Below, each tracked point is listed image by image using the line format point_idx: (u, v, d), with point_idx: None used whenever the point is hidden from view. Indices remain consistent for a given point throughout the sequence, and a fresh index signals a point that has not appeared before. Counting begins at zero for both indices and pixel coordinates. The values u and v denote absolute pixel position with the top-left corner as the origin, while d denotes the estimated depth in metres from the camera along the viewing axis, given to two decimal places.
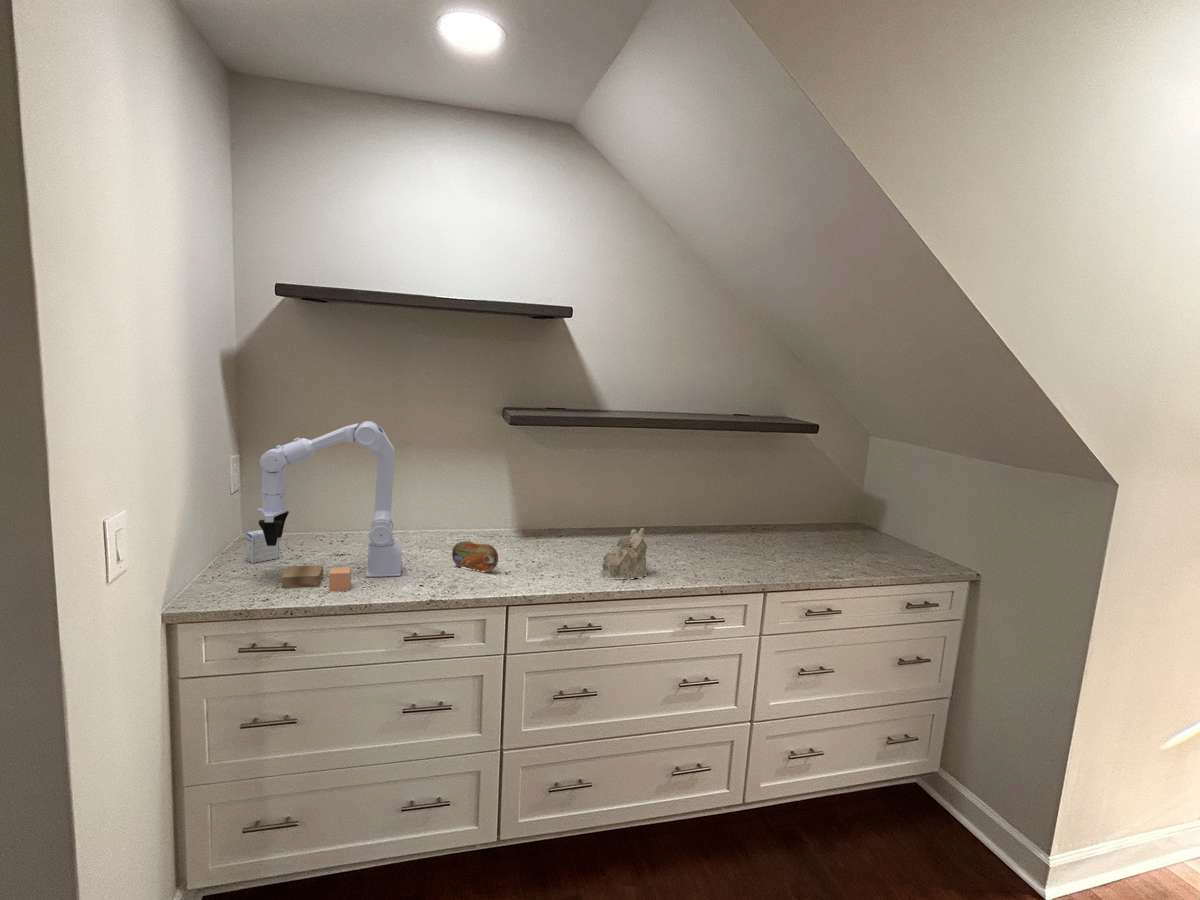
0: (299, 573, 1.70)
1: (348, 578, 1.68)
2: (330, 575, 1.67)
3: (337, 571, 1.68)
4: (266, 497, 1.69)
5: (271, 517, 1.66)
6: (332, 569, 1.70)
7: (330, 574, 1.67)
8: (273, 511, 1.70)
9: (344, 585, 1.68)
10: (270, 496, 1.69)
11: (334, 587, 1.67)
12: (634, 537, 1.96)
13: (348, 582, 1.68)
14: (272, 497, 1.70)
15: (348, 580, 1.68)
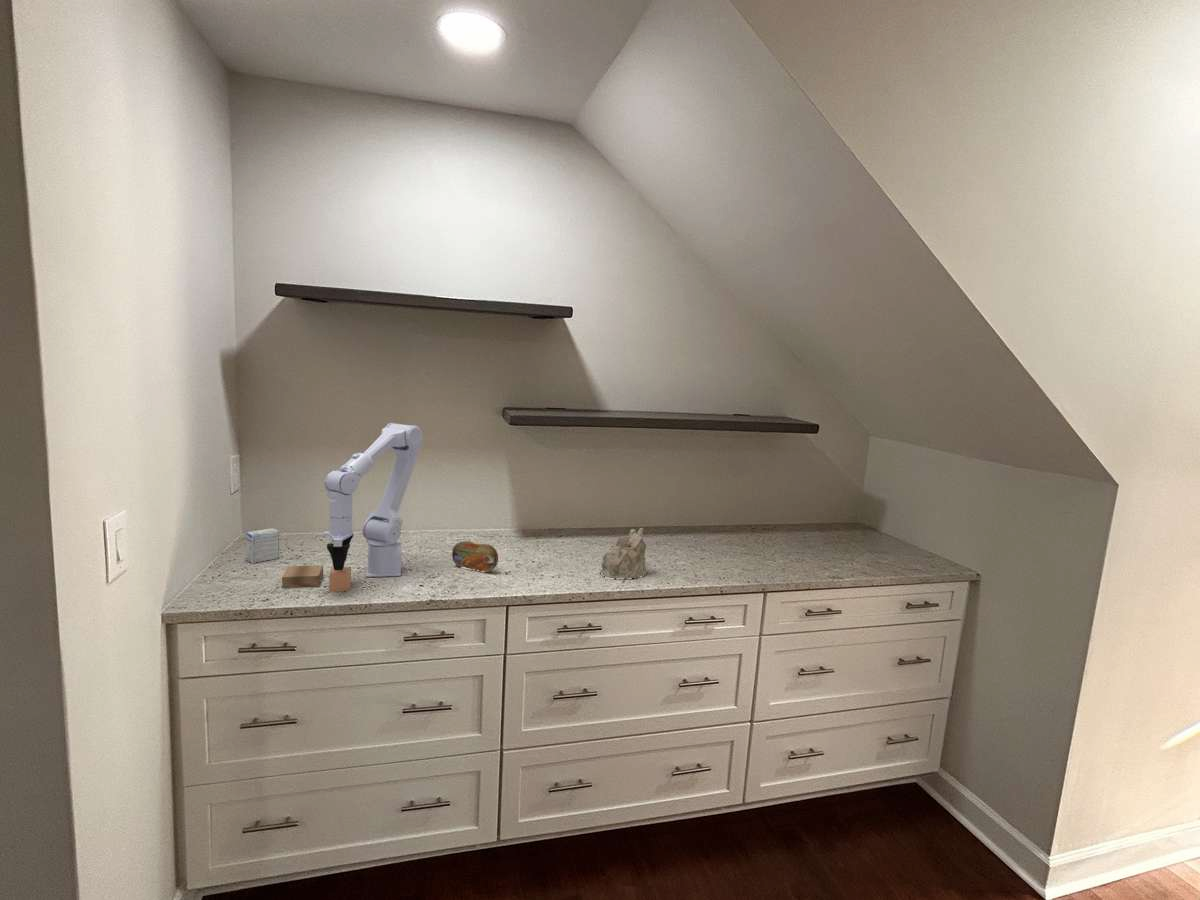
0: (299, 573, 1.70)
1: (348, 578, 1.68)
2: (330, 575, 1.67)
3: (337, 571, 1.68)
4: (334, 520, 1.65)
5: (340, 541, 1.62)
6: (332, 569, 1.70)
7: (330, 574, 1.67)
8: (340, 535, 1.65)
9: (344, 585, 1.68)
10: (338, 519, 1.65)
11: (334, 587, 1.67)
12: (633, 537, 1.96)
13: (348, 582, 1.68)
14: (339, 520, 1.65)
15: (348, 580, 1.68)
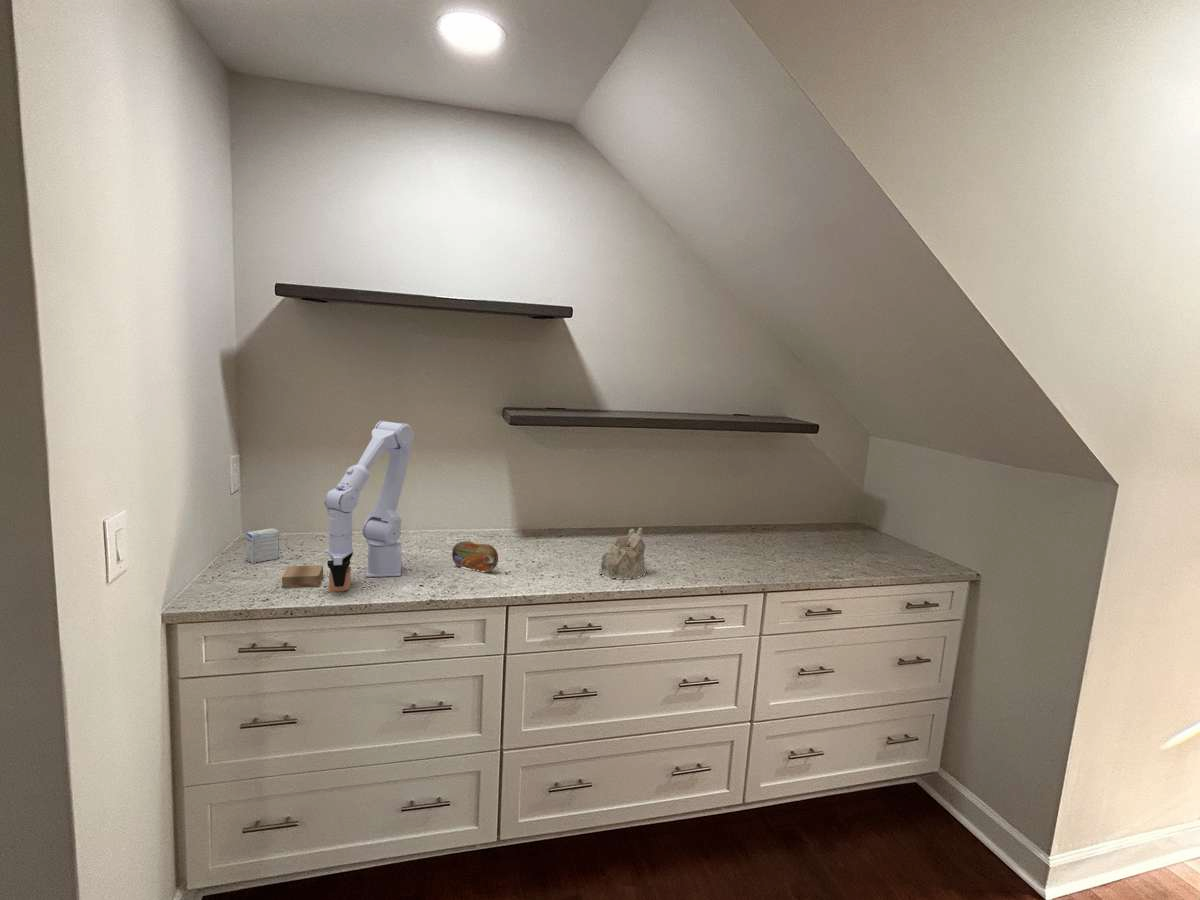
0: (299, 573, 1.70)
1: (348, 578, 1.68)
2: (330, 575, 1.67)
3: None
4: (334, 538, 1.66)
5: (340, 560, 1.62)
6: None
7: (330, 574, 1.67)
8: (340, 552, 1.66)
9: (344, 585, 1.68)
10: (338, 537, 1.66)
11: (334, 586, 1.67)
12: (632, 537, 1.97)
13: (348, 582, 1.68)
14: (339, 538, 1.66)
15: (348, 580, 1.68)
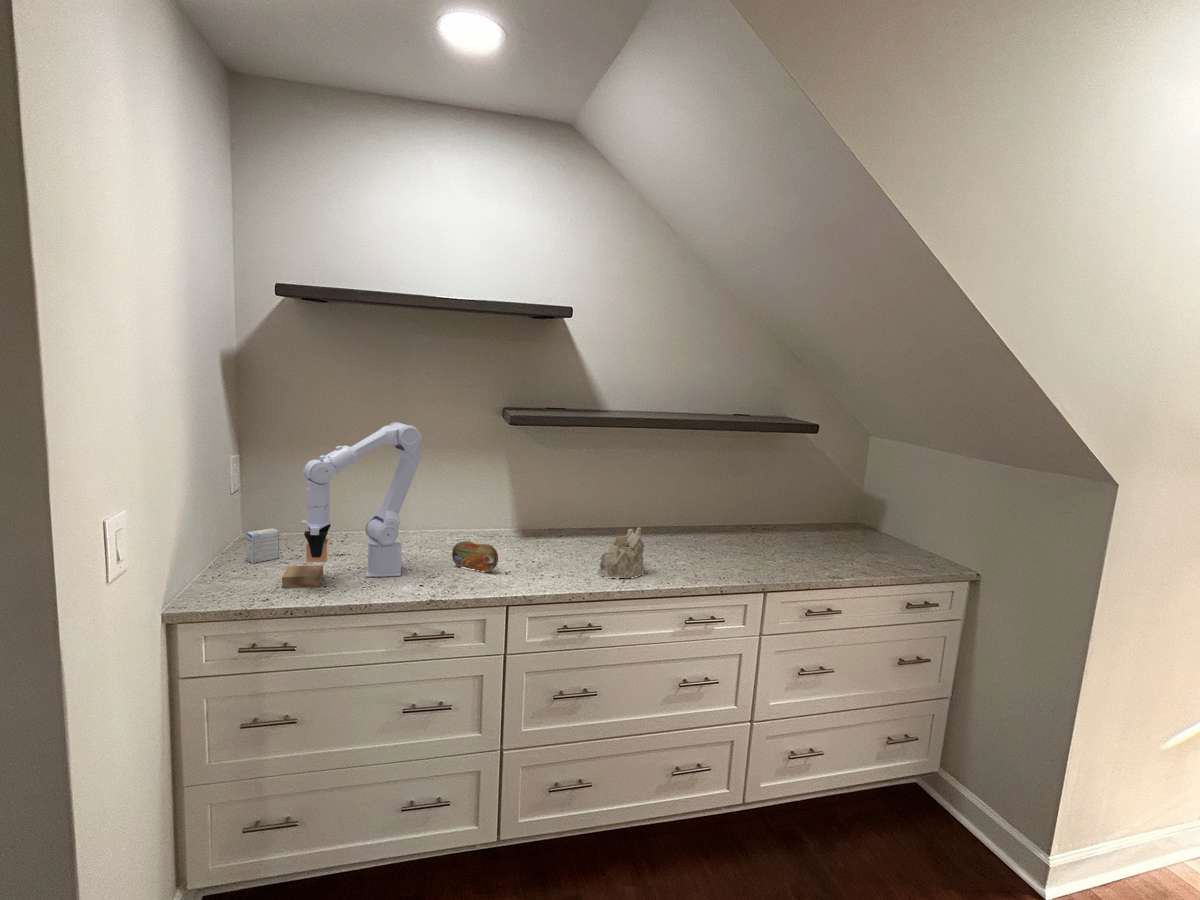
0: (299, 573, 1.70)
1: (325, 549, 1.69)
2: (307, 546, 1.67)
3: None
4: (311, 509, 1.66)
5: (317, 530, 1.63)
6: None
7: (307, 545, 1.67)
8: (318, 523, 1.67)
9: (321, 556, 1.69)
10: (315, 508, 1.66)
11: (311, 557, 1.68)
12: (631, 536, 1.97)
13: (325, 553, 1.69)
14: (316, 509, 1.66)
15: (326, 551, 1.69)
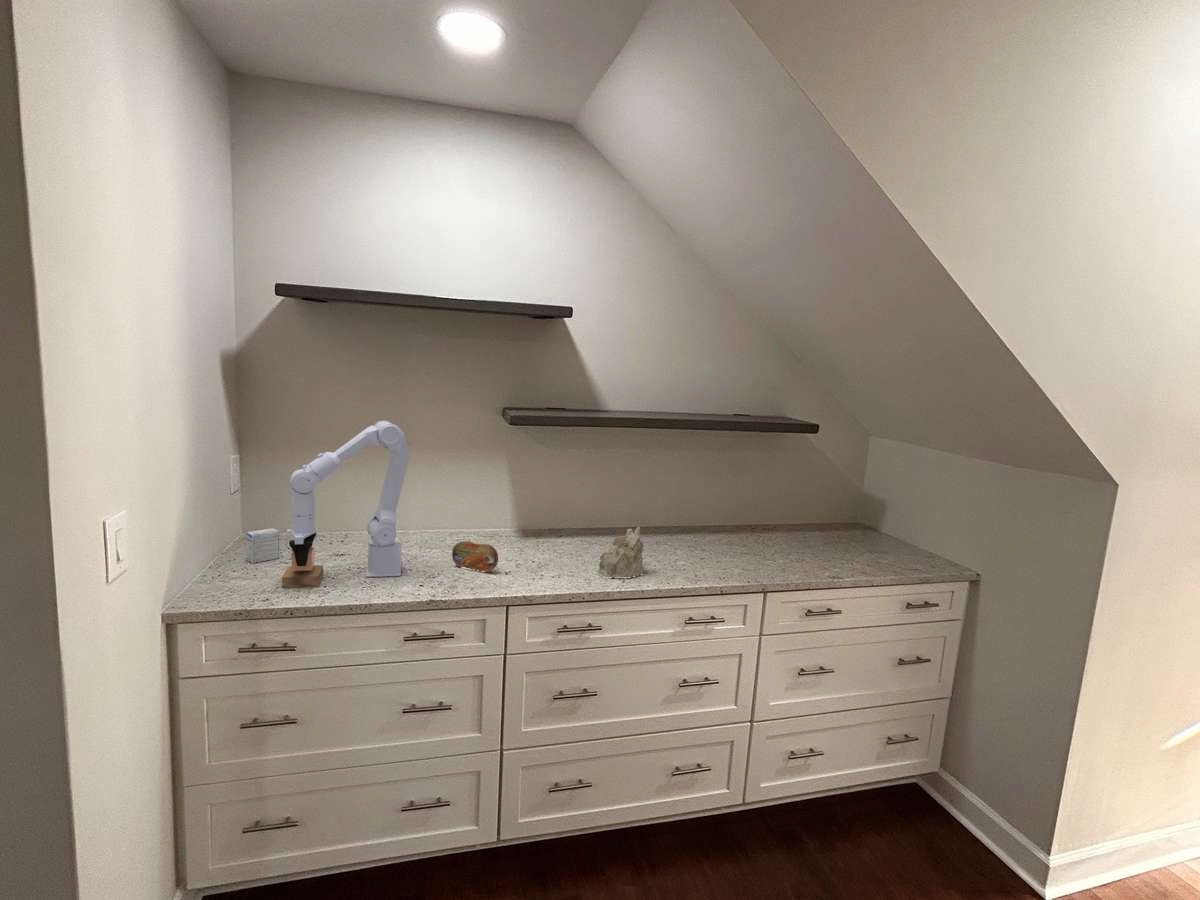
0: (299, 573, 1.70)
1: (310, 558, 1.70)
2: (292, 554, 1.69)
3: None
4: (296, 518, 1.68)
5: (301, 539, 1.64)
6: None
7: (292, 553, 1.69)
8: (303, 532, 1.68)
9: (307, 564, 1.70)
10: (300, 517, 1.68)
11: (296, 566, 1.70)
12: (630, 536, 1.97)
13: (310, 561, 1.70)
14: (301, 518, 1.68)
15: (311, 560, 1.70)
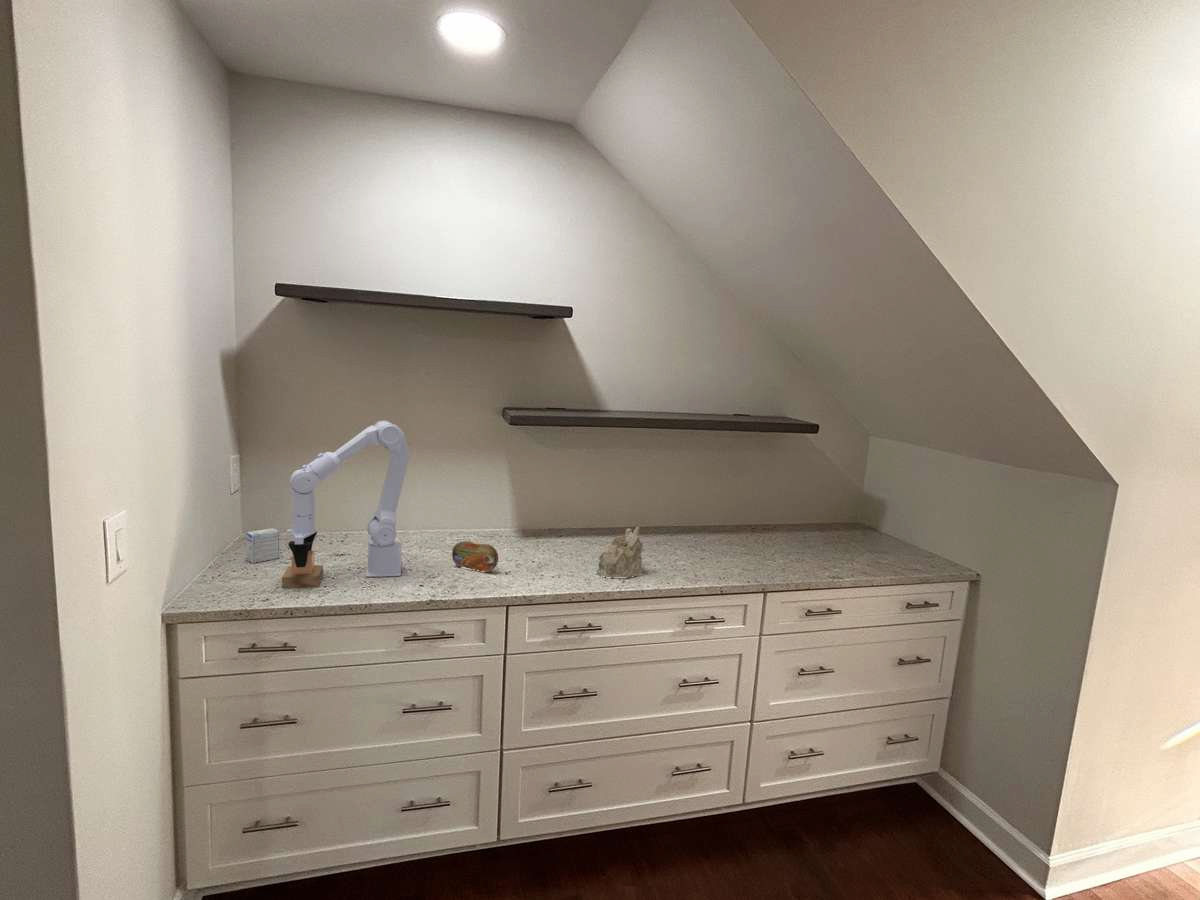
0: None
1: (310, 561, 1.70)
2: (292, 558, 1.69)
3: None
4: (296, 518, 1.68)
5: (301, 539, 1.64)
6: None
7: (292, 557, 1.69)
8: (302, 532, 1.68)
9: (306, 568, 1.70)
10: (300, 517, 1.68)
11: (296, 569, 1.70)
12: (629, 536, 1.97)
13: (310, 565, 1.71)
14: (301, 518, 1.68)
15: (311, 563, 1.71)
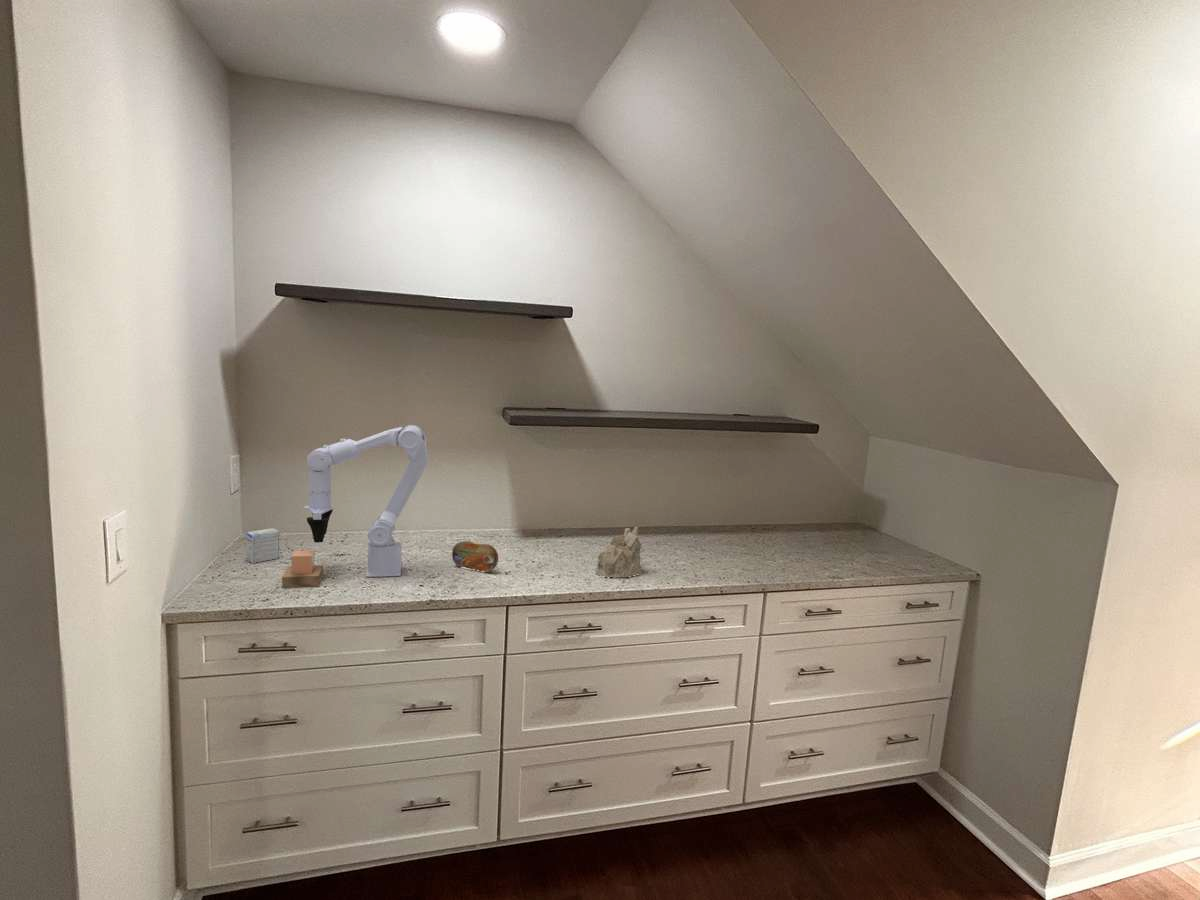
0: None
1: (310, 561, 1.70)
2: (292, 558, 1.69)
3: (299, 554, 1.71)
4: (313, 495, 1.74)
5: (319, 514, 1.71)
6: (295, 552, 1.72)
7: (292, 557, 1.69)
8: (320, 509, 1.75)
9: (306, 568, 1.70)
10: (317, 494, 1.74)
11: (296, 569, 1.70)
12: (628, 536, 1.97)
13: (310, 565, 1.71)
14: (319, 495, 1.74)
15: (311, 563, 1.71)
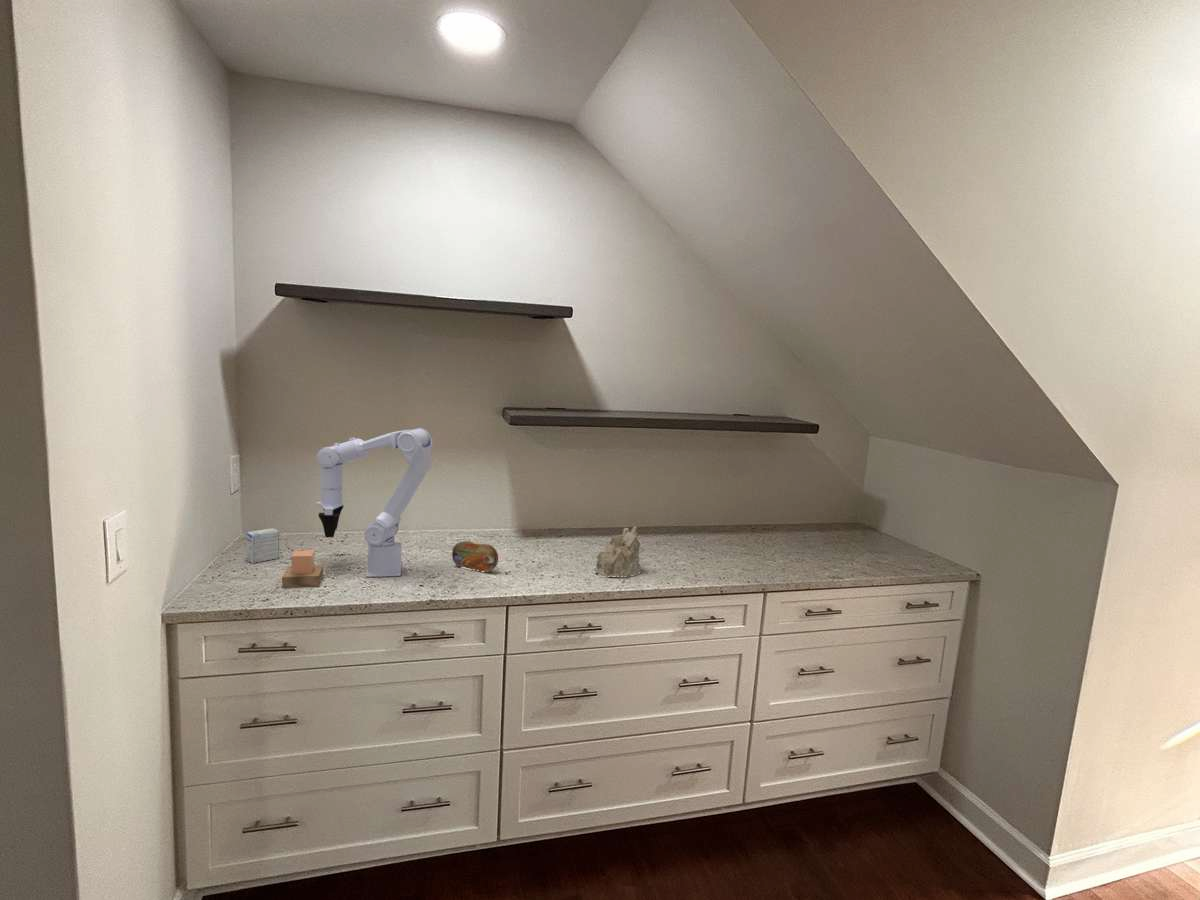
0: None
1: (310, 561, 1.70)
2: (292, 558, 1.69)
3: (299, 554, 1.71)
4: (325, 491, 1.79)
5: (331, 510, 1.76)
6: (295, 552, 1.72)
7: (292, 557, 1.69)
8: (331, 504, 1.80)
9: (306, 568, 1.70)
10: (329, 490, 1.79)
11: (296, 569, 1.70)
12: (627, 535, 1.98)
13: (310, 565, 1.71)
14: (330, 491, 1.79)
15: (311, 563, 1.71)
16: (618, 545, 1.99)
